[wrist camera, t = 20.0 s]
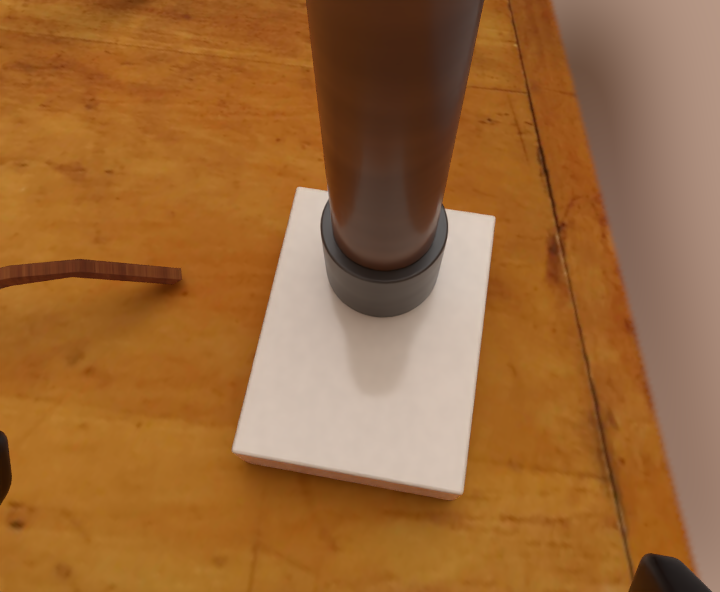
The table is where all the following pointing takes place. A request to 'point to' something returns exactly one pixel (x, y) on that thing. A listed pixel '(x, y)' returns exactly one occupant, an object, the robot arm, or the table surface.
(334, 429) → the white base block
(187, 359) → the table surface
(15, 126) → the table surface
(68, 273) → the glasses
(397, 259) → the brown tall cylinder
